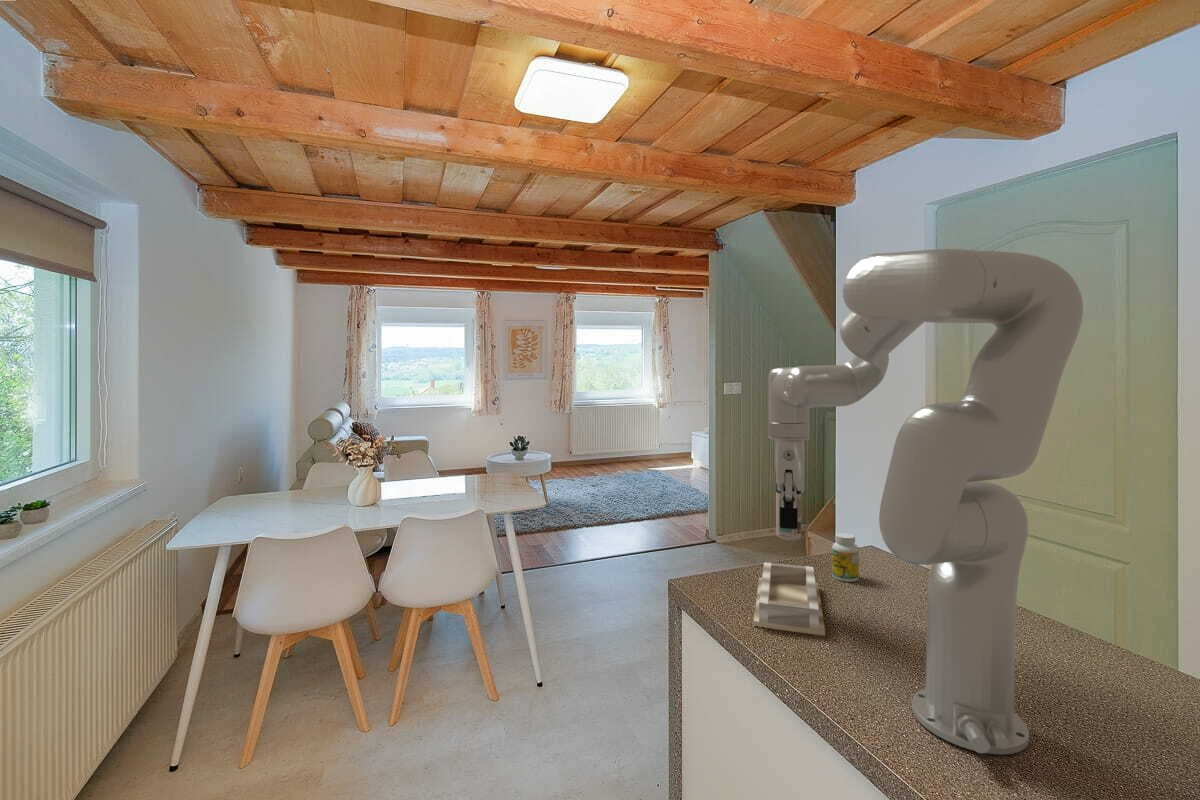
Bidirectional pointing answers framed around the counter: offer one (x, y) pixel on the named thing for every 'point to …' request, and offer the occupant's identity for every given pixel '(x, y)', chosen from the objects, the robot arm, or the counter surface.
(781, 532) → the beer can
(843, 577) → the supplement bottle
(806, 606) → the open rectangular box
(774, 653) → the counter surface
